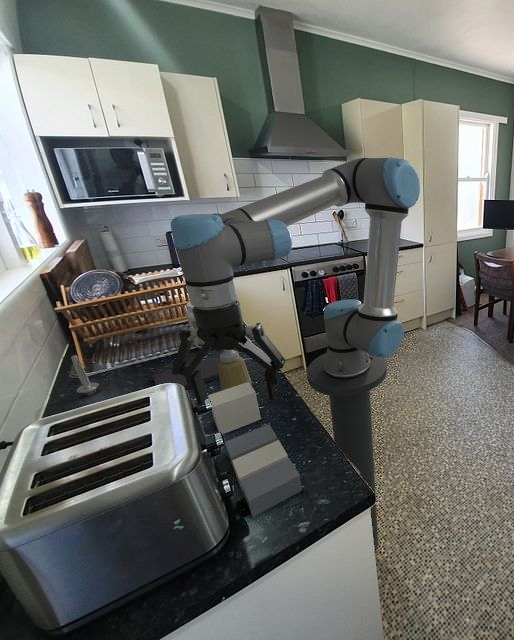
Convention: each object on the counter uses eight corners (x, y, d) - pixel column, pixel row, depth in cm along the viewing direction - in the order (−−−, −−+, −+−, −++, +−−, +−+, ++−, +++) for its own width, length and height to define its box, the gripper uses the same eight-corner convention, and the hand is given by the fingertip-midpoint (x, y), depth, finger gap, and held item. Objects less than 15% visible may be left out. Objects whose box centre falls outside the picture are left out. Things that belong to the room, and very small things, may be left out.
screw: (76, 399, 100) (84, 390, 104) (97, 396, 102) (104, 387, 106) (57, 361, 95) (66, 352, 99) (79, 358, 96) (88, 350, 100)
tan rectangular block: (281, 454, 83) (278, 439, 81) (290, 469, 79) (287, 455, 77) (236, 475, 77) (231, 460, 75) (243, 493, 73) (238, 478, 71)
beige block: (251, 395, 97) (248, 381, 95) (258, 405, 92) (255, 392, 91) (211, 409, 91) (207, 395, 89) (216, 421, 86) (212, 407, 85)
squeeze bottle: (219, 405, 99) (204, 350, 92) (228, 389, 106) (215, 337, 99) (250, 402, 101) (237, 348, 93) (256, 386, 108) (245, 335, 101)
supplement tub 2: (238, 340, 135) (228, 300, 128) (206, 353, 126) (194, 310, 119) (220, 333, 141) (210, 293, 134) (188, 344, 131) (176, 303, 125)
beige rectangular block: (254, 408, 98) (251, 395, 97) (261, 419, 94) (258, 405, 92) (215, 422, 92) (211, 409, 91) (220, 435, 88) (216, 421, 86)
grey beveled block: (292, 472, 78) (289, 457, 76) (302, 490, 74) (299, 475, 72) (244, 496, 72) (240, 481, 70) (252, 517, 68) (248, 501, 66)
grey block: (272, 437, 88) (269, 423, 86) (280, 451, 84) (277, 437, 82) (228, 456, 82) (224, 442, 80) (234, 472, 78) (230, 457, 76)
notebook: (160, 397, 102) (237, 371, 115) (158, 393, 101) (236, 367, 114) (153, 379, 110) (226, 357, 124) (151, 375, 110) (225, 353, 123)
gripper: (126, 313, 58) (162, 415, 66) (282, 308, 61) (298, 405, 70) (151, 298, 64) (181, 392, 73) (291, 294, 68) (304, 384, 77)
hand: (238, 398), depth 72 cm, fingers open, 13 cm apart
